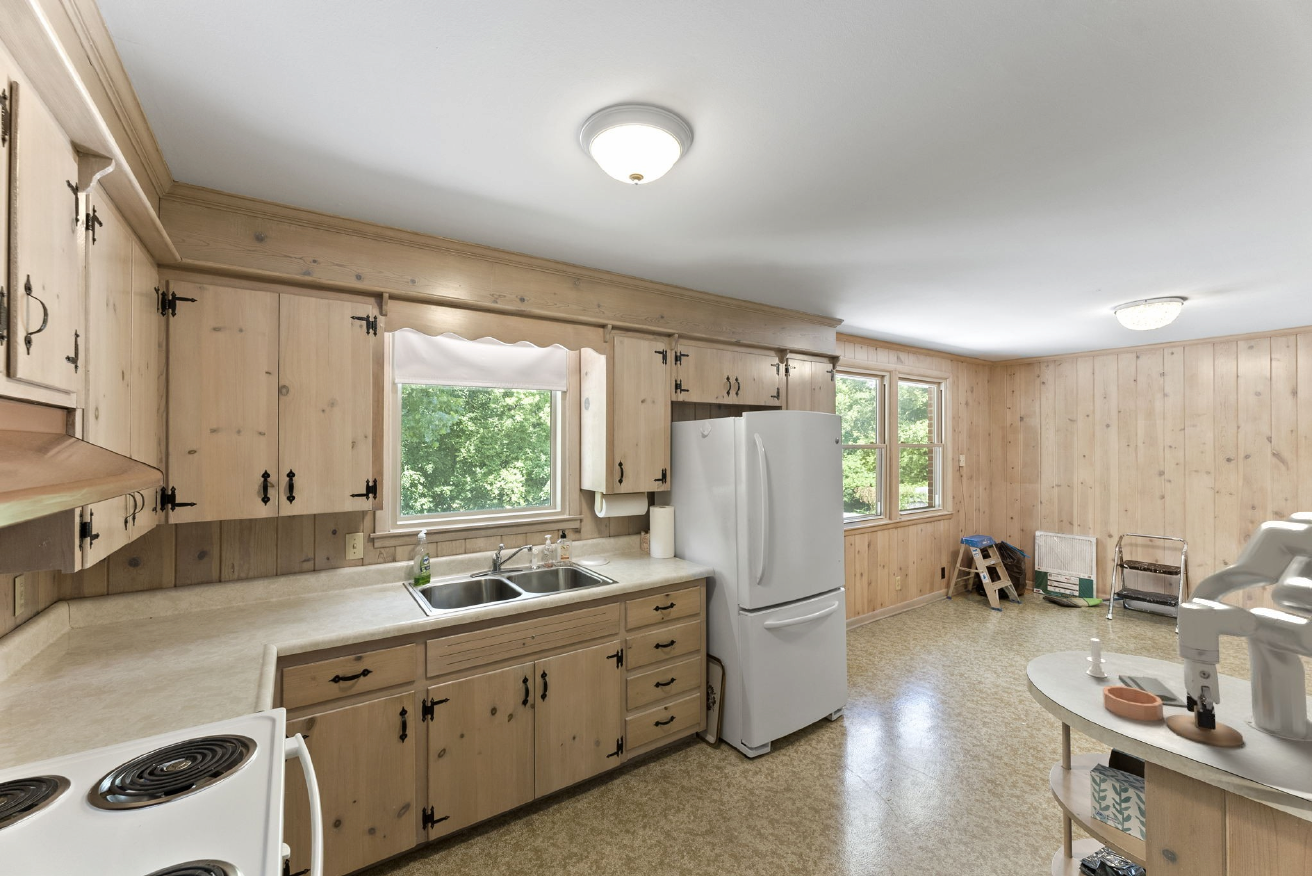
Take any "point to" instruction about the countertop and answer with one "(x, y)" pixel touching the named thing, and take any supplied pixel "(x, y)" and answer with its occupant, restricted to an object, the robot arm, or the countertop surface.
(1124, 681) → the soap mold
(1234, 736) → the lid
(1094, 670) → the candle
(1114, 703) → the bowl
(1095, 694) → the countertop surface
